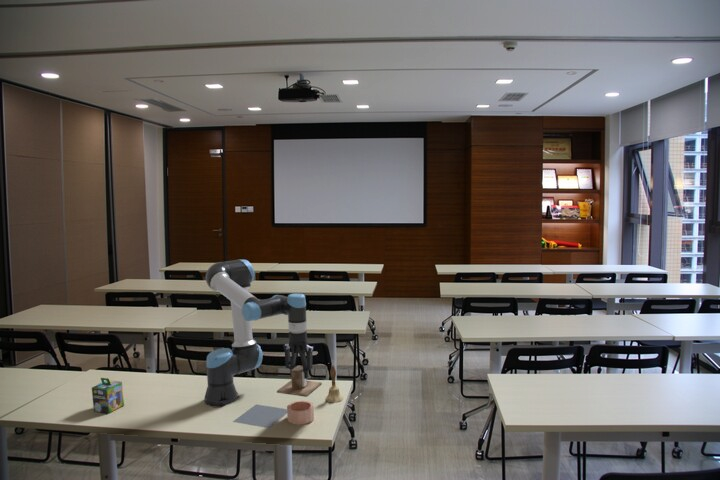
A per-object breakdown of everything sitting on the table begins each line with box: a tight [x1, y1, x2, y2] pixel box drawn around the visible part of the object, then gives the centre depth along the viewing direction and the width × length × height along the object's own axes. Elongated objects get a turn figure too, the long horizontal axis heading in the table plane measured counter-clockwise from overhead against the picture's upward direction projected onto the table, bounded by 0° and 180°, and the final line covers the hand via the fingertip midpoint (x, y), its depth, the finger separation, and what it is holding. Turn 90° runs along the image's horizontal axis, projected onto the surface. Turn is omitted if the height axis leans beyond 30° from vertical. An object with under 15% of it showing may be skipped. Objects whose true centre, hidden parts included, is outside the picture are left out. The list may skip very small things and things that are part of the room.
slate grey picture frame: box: [232, 404, 287, 429], centre depth 215 cm, size 18×18×1 cm
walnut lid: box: [276, 365, 323, 398], centre depth 209 cm, size 14×14×9 cm
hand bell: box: [324, 365, 344, 404], centre depth 231 cm, size 8×8×16 cm
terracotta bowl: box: [286, 400, 315, 426], centre depth 211 cm, size 11×11×6 cm
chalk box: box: [91, 377, 125, 414], centre depth 226 cm, size 9×9×15 cm
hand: (299, 384), depth 210 cm, fingers closed on walnut lid, 4 cm apart
